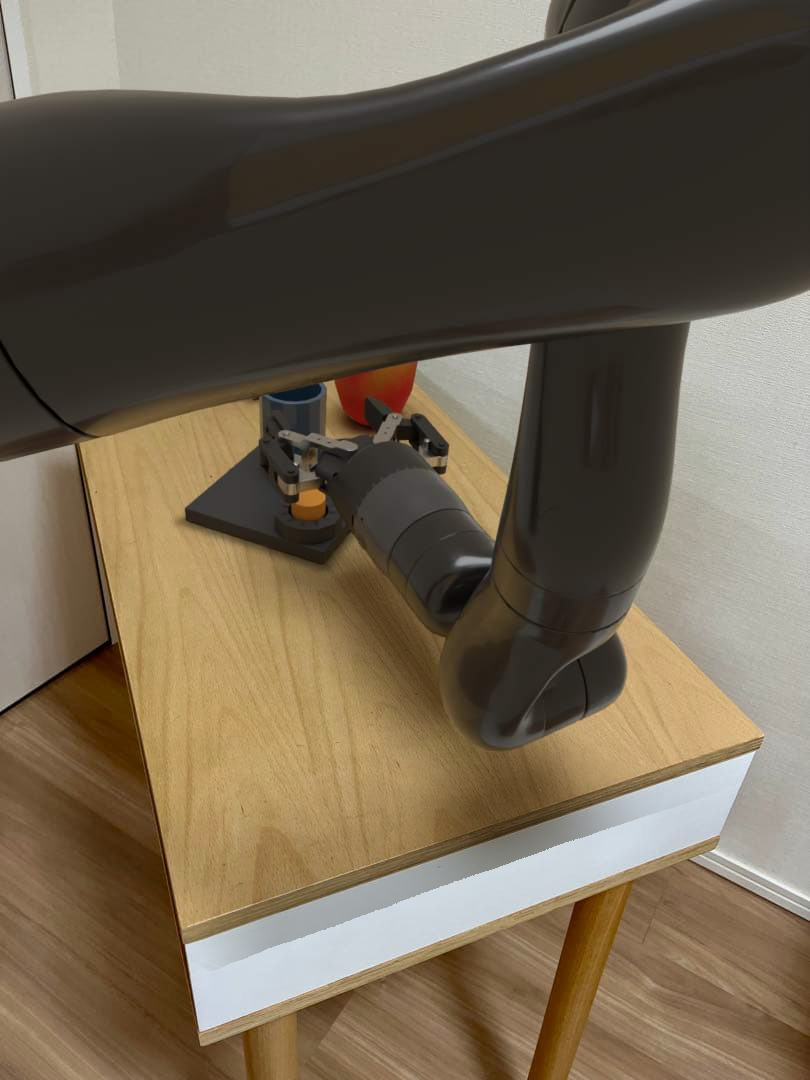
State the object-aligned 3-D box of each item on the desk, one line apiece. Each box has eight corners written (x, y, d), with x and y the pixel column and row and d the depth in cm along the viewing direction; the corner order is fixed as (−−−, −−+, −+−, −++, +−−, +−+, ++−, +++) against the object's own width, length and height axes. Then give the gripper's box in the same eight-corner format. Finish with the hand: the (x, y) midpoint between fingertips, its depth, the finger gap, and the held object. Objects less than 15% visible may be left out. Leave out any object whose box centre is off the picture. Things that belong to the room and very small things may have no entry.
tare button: (315, 526, 71) (316, 509, 70) (285, 517, 72) (285, 500, 71) (331, 509, 73) (331, 492, 72) (301, 500, 74) (301, 483, 73)
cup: (306, 489, 78) (307, 409, 73) (249, 472, 79) (246, 393, 74) (335, 460, 82) (337, 383, 77) (281, 445, 84) (280, 368, 79)
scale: (323, 564, 71) (323, 536, 69) (185, 520, 75) (182, 493, 73) (394, 478, 83) (396, 452, 81) (273, 444, 87) (272, 419, 85)
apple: (342, 444, 88) (345, 338, 81) (322, 406, 95) (323, 305, 88) (423, 436, 91) (433, 333, 84) (397, 399, 97) (405, 301, 90)
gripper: (498, 454, 59) (400, 362, 70) (311, 489, 53) (237, 383, 64) (484, 538, 63) (394, 439, 74) (310, 579, 57) (241, 465, 69)
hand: (321, 413), depth 69 cm, fingers open, 8 cm apart
